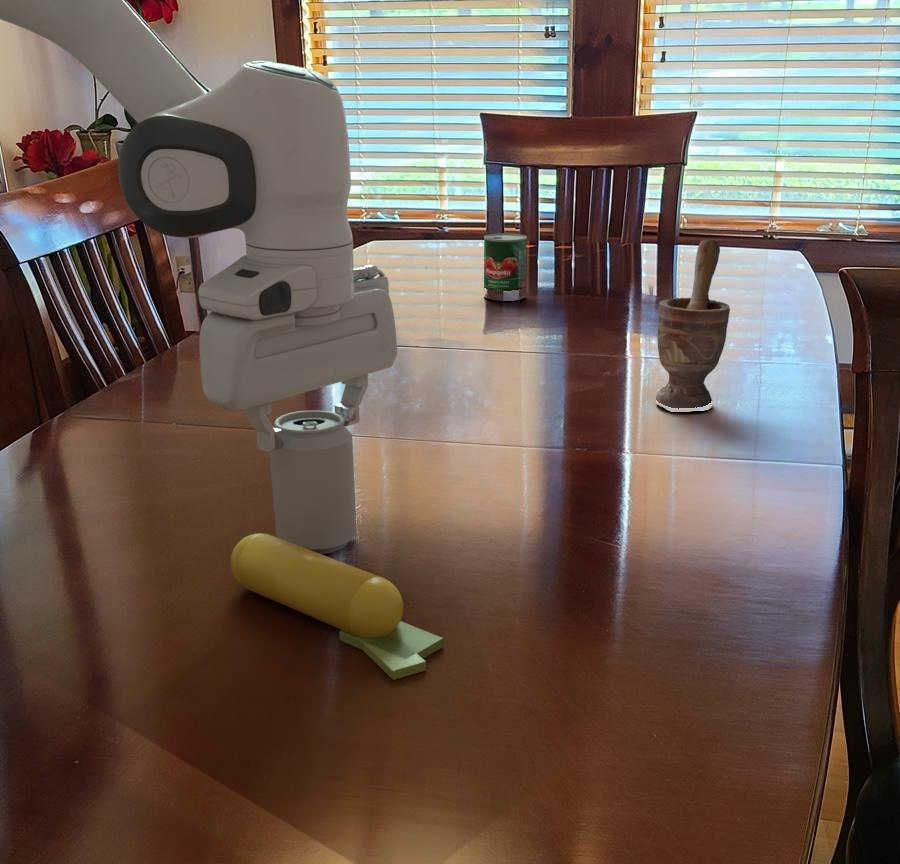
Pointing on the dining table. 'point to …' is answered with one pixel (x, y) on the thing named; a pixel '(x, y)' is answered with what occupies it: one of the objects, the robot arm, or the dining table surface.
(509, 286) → the canned tomato
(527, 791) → the dining table surface
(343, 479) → the can
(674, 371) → the mortar and pestle
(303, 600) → the corn cob
